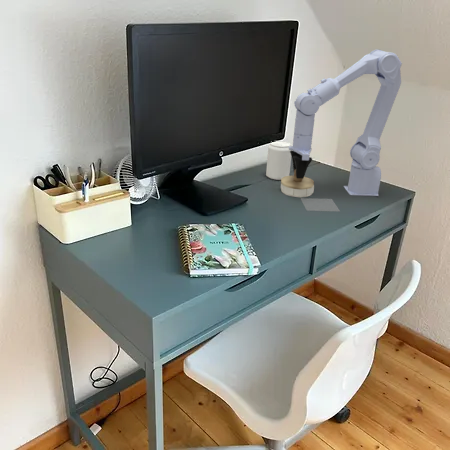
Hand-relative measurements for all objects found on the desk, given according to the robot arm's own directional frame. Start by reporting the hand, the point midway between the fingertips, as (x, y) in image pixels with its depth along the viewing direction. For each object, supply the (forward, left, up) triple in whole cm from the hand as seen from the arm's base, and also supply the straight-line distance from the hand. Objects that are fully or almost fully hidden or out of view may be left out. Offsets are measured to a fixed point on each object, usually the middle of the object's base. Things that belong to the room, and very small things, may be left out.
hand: (298, 175), depth 158 cm
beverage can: (+4, -15, -6) cm, 17 cm away
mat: (-5, +11, -6) cm, 13 cm away
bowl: (0, 0, -6) cm, 6 cm away
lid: (0, 0, -3) cm, 3 cm away
